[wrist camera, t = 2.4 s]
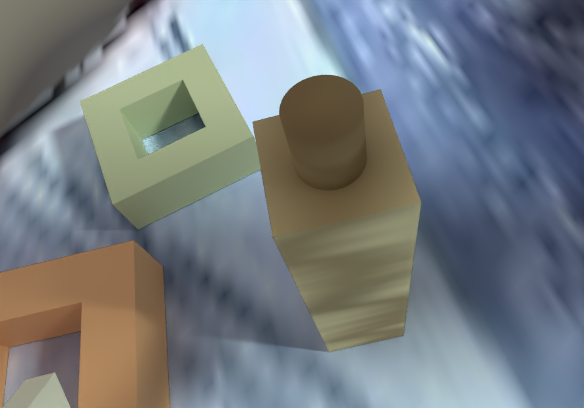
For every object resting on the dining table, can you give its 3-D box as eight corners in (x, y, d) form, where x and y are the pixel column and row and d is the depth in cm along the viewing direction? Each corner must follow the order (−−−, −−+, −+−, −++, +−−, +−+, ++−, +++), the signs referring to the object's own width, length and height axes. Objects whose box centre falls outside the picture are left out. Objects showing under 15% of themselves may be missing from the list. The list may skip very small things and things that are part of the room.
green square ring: (217, 78, 32) (202, 44, 29) (265, 166, 28) (253, 136, 26) (105, 131, 31) (80, 101, 29) (138, 229, 28) (112, 204, 25)
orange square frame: (162, 266, 26) (134, 240, 23) (174, 503, 21) (138, 509, 18) (-29, 312, 27) (-82, 292, 24) (-66, 553, 21) (-141, 567, 18)
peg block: (382, 266, 24) (379, 30, 11) (403, 335, 22) (427, 153, 9) (314, 281, 24) (232, 68, 11) (328, 352, 23) (252, 196, 10)
